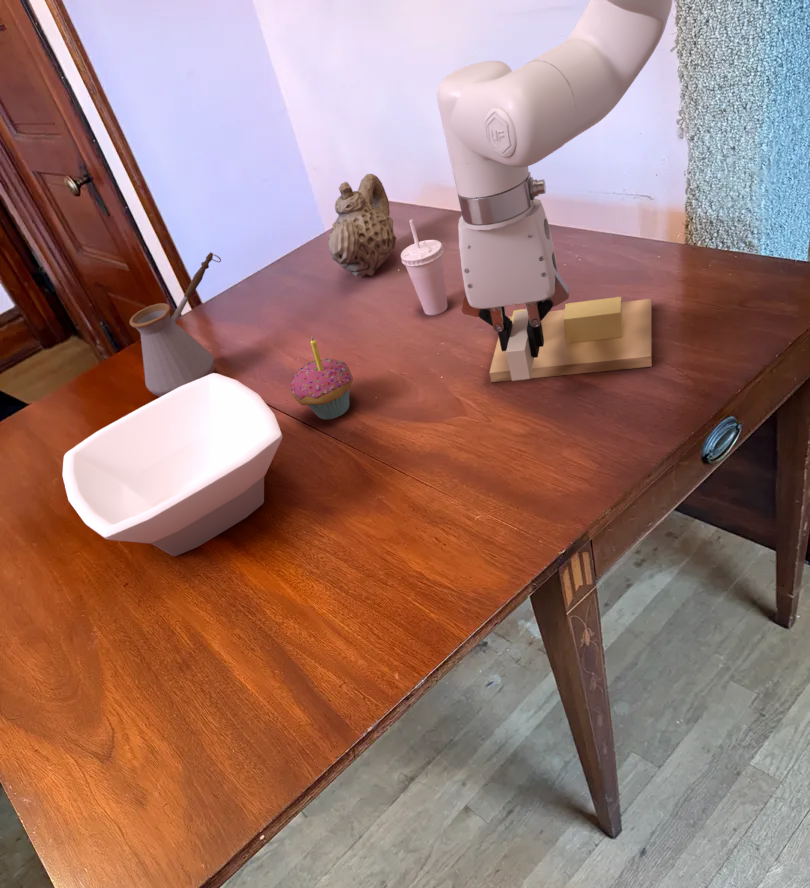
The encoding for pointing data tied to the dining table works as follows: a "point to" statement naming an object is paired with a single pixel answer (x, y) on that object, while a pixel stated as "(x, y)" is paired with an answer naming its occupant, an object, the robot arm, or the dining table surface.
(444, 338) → the dining table surface
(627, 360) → the board
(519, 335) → the knife
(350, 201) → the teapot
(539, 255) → the robot arm
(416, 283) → the smoothie
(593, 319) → the butter
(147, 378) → the coffee pot
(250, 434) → the bowl
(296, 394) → the cupcake
